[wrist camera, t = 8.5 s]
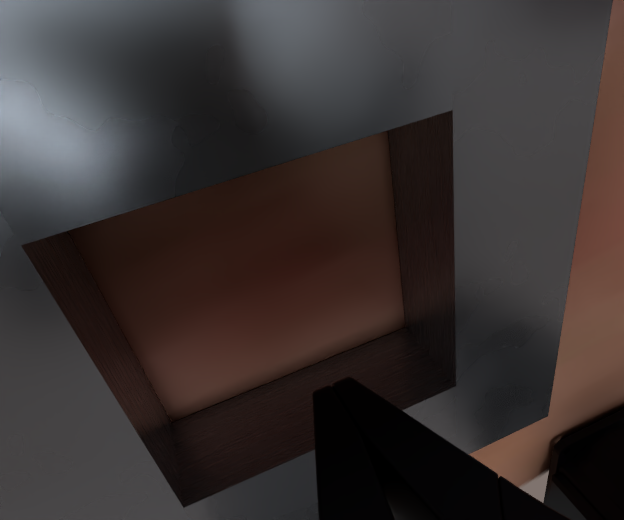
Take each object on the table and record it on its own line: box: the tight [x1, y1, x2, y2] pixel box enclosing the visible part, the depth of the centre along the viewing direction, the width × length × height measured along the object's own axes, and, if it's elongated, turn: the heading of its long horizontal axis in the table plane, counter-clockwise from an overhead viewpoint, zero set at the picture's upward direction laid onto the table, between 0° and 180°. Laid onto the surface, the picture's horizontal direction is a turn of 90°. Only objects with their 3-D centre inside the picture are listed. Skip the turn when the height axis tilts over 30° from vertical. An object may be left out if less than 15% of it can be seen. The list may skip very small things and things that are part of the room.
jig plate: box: [0, 0, 613, 520], centre depth 12 cm, size 16×16×3 cm
